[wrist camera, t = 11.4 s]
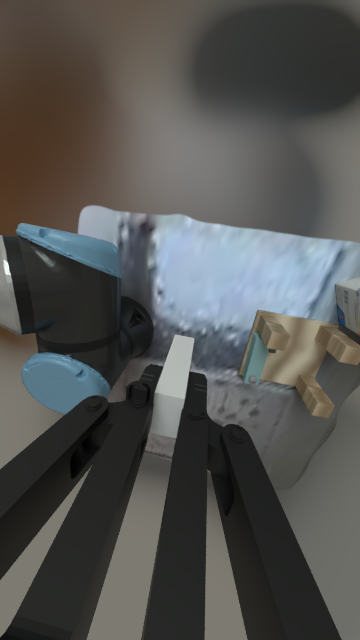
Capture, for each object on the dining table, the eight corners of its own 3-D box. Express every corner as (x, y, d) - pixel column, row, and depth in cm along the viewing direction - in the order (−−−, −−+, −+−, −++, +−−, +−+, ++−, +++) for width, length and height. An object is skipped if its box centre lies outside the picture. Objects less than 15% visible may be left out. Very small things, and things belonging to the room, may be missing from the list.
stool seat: (238, 372, 50) (244, 402, 41) (257, 309, 44) (270, 329, 35) (307, 386, 49) (329, 420, 40) (336, 324, 43) (370, 347, 34)
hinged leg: (255, 377, 49) (258, 387, 45) (242, 374, 49) (244, 384, 46) (268, 334, 45) (272, 342, 41) (253, 332, 45) (257, 339, 42)
